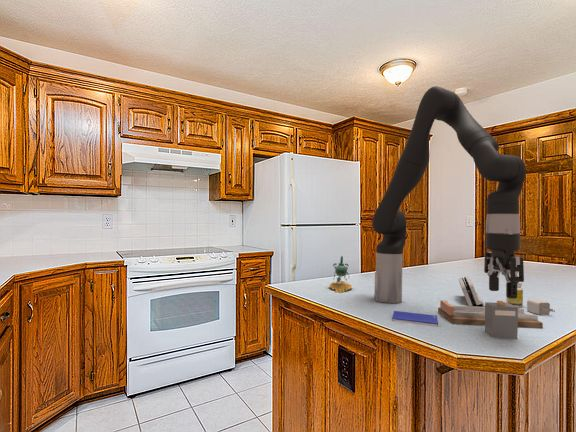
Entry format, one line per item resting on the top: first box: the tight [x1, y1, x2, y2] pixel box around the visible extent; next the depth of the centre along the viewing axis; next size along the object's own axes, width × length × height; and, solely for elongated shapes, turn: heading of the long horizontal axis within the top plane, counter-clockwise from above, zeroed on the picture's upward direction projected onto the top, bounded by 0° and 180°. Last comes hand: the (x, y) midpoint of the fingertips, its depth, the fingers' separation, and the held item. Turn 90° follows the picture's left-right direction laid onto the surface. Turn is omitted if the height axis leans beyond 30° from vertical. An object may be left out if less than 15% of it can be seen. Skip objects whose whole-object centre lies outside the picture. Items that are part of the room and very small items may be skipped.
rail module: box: [484, 300, 519, 340], centre depth 87 cm, size 6×4×9 cm
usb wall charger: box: [526, 298, 556, 316], centre depth 107 cm, size 4×7×4 cm, turn 8°
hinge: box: [457, 275, 485, 307], centre depth 123 cm, size 17×5×10 cm, turn 157°
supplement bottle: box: [505, 282, 524, 308], centre depth 117 cm, size 5×5×8 cm
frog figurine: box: [329, 255, 353, 294], centre depth 140 cm, size 10×18×15 cm, turn 164°
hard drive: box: [391, 310, 439, 327], centre depth 99 cm, size 2×8×12 cm
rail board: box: [437, 299, 544, 329], centre depth 100 cm, size 24×12×4 cm, turn 84°
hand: (502, 294), depth 87 cm, fingers open, 8 cm apart
